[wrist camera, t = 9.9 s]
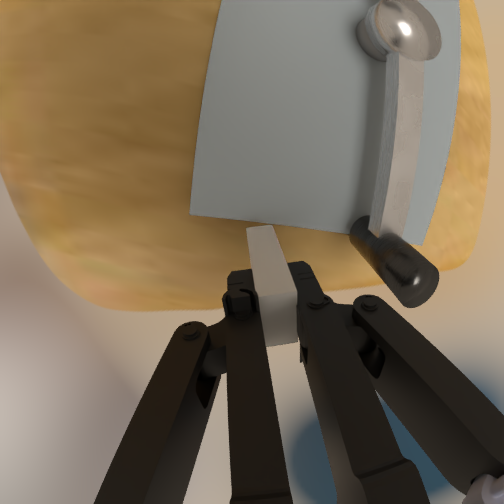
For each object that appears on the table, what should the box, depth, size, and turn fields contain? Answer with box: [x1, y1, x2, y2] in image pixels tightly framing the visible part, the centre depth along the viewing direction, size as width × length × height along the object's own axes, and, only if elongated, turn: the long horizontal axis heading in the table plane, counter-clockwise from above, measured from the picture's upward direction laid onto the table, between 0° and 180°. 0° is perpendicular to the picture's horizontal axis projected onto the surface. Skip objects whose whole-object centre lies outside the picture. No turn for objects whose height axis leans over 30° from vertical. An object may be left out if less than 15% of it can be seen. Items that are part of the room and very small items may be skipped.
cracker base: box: [189, 0, 461, 246], centre depth 13 cm, size 25×18×3 cm
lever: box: [349, 0, 442, 308], centre depth 11 cm, size 25×4×7 cm, turn 177°
